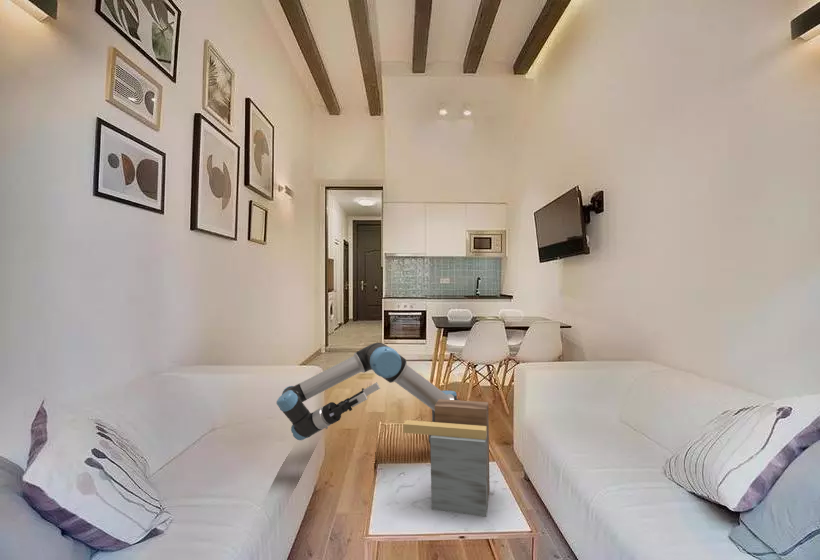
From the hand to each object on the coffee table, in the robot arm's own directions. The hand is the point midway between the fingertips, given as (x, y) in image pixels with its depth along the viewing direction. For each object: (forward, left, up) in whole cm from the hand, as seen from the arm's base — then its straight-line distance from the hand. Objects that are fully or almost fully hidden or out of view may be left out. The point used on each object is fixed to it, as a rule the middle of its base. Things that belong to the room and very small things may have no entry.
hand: (372, 390), depth 149 cm
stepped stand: (+13, +30, -36) cm, 49 cm away
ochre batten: (+15, +24, -12) cm, 31 cm away
